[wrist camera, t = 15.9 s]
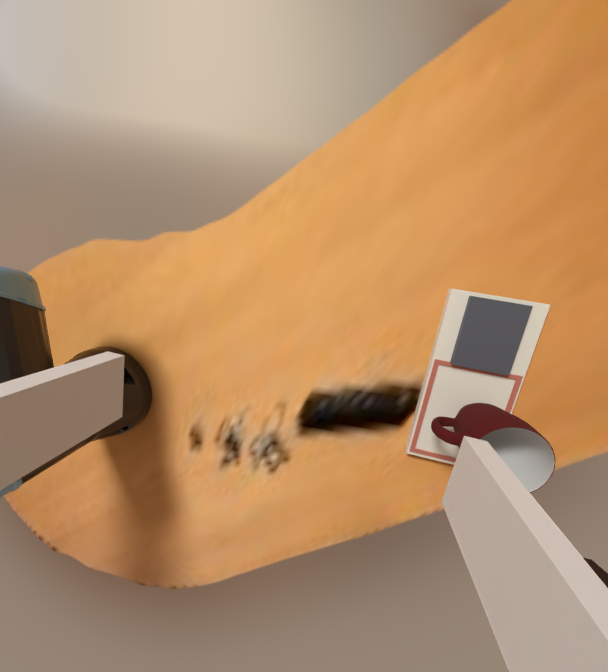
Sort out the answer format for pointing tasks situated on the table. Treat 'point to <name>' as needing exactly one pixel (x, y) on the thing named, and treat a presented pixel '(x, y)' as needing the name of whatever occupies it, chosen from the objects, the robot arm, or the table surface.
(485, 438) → the mug
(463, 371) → the board
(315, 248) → the table surface
